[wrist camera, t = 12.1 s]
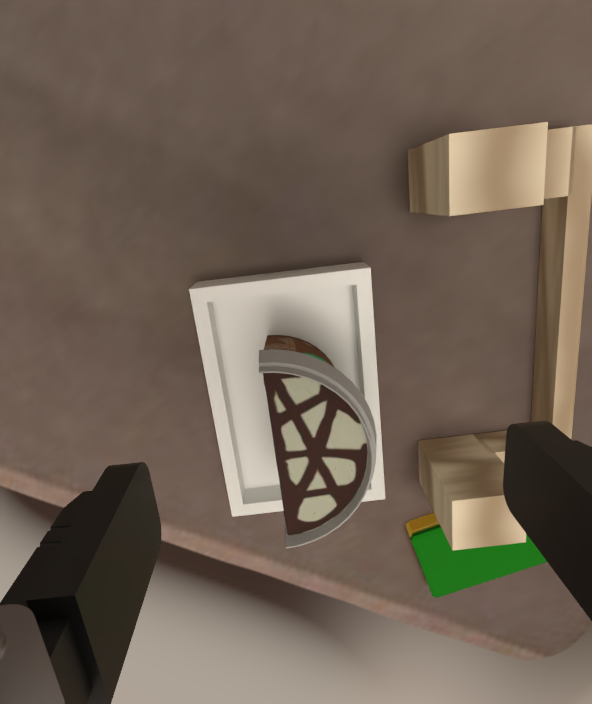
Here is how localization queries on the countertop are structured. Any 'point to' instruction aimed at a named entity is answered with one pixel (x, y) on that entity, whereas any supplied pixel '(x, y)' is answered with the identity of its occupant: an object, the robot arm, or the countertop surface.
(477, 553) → the dish sponge
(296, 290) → the tray
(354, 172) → the countertop surface
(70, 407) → the countertop surface
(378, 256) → the countertop surface
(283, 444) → the food container
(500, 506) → the holder
